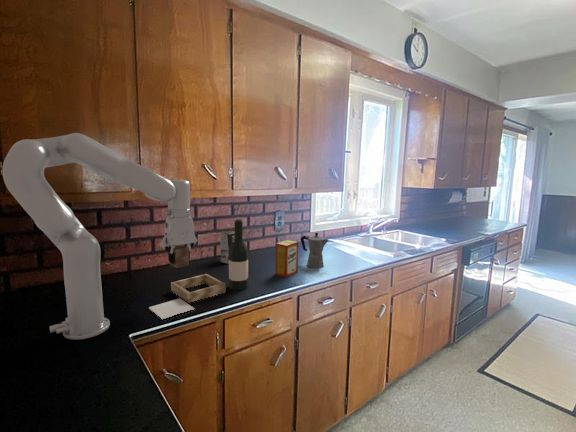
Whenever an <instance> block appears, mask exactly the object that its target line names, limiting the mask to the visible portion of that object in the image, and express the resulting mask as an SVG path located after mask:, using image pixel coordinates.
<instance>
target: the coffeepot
mask: <svg viewBox="0 0 576 432" xmlns="http://www.w3.org/2000/svg"><path fill="white" fill-rule="evenodd" d="M314 234H315V235H314V236H313V235H312V236H309V235H303V236H301V237H300V243H301V246H302V249H303V251H306V252H307V251H308V249H309V252H308V258H307V261H306V262H307V263H306V266H307V267H308V268H312V269H321V268H323V267H324V260H323V259H324V258H323V251H324V247H325V245H326V244H327V242H329V240H328V239H327V238H325V237H323V236H319V233H318V232H315V233H314ZM305 240H306V241H307V242H308V249H307V248H306V244H305Z"/></svg>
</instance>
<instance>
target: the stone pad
mask: <svg viewBox="0 0 576 432" xmlns="http://www.w3.org/2000/svg"><path fill="white" fill-rule="evenodd" d="M194 309H195V310H196V308H195V307H193V306H191V305H190V304H188V303H187V302H185V301H184V300H182V299H181V298H180V297H178V298H176V299H172V300H169V301H166V302H162V303H160V304H159V303H158V304H156V305H152V306H149V307H148V310H149V311H151V312H152V313H153V312H154V313H155V314H156V315H157V316H156V315H155V314H154V313H153V314H154V315H155V316H156V317H158V316H159V317H160V318H161V319H162V320H163V319H166V318H169V317H172V316H174V315H177V314H180V313H184V312H187V311H190V310H194ZM195 310H194V311H195ZM159 317H158V318H159ZM160 318H159V319H160ZM161 319H160V320H161ZM162 320H161V321H162Z"/></svg>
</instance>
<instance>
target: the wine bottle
mask: <svg viewBox="0 0 576 432" xmlns="http://www.w3.org/2000/svg"><path fill="white" fill-rule="evenodd" d="M243 225H244V223H243V220H242V219H241V218H236V219H235V221H234V231H235V241H234V242H233V244H232V246H231V248H230V249H229V264H228V288H229V289H230V288H231V289H230V290H231V291H239V290H240V291H244V290H247V289H248V287H249V248H248V247H247V245H246V243H245V242H244V241H243V239H244V238H243V234H244V232H243V231H244V229H243ZM246 288H247V289H246ZM243 289H244V290H243Z"/></svg>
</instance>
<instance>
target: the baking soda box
mask: <svg viewBox="0 0 576 432" xmlns="http://www.w3.org/2000/svg"><path fill="white" fill-rule="evenodd" d="M298 261H299V241H295V240H289V239H287V240H282V241H280V242H276V243H275V263H274V264H275V266H274V267H275V270H274V271H275V272H274V273H275V274H274V275H276V276H279V277H283V278H288V277H290V276H293V275H295V274H297V273H298V271H299V270H298V266H299V265H298V263H299V262H298Z"/></svg>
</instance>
